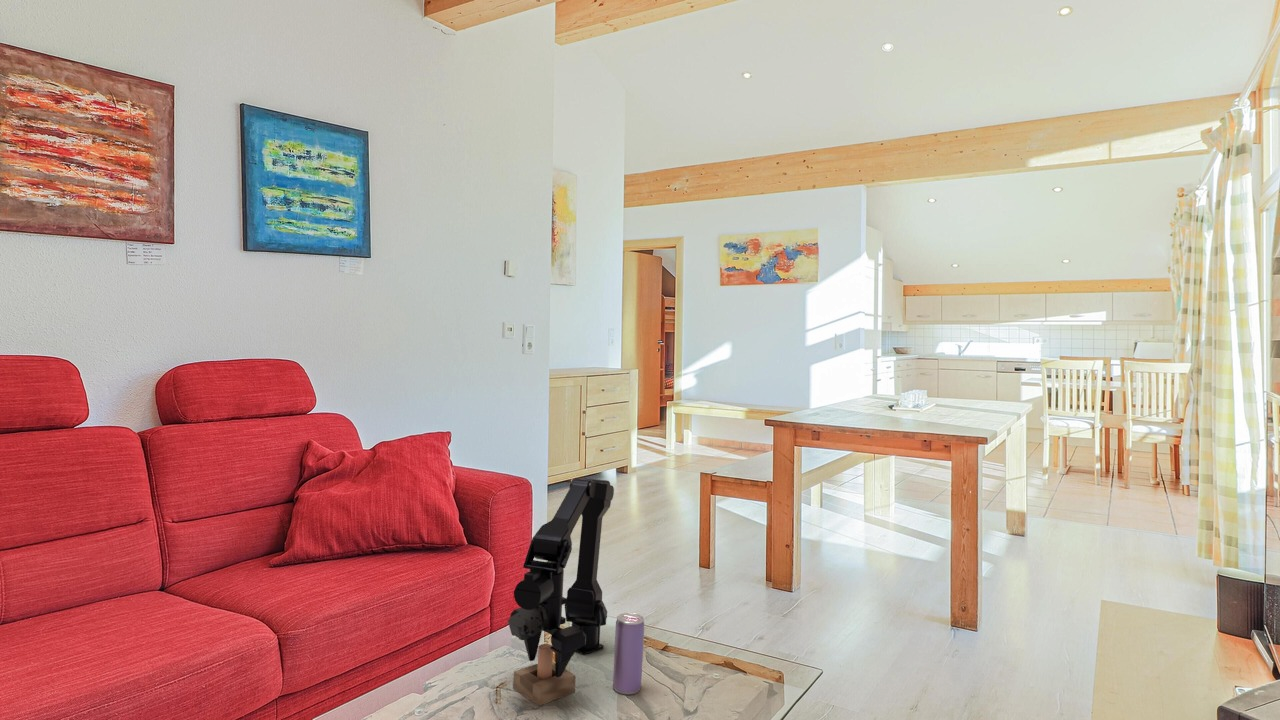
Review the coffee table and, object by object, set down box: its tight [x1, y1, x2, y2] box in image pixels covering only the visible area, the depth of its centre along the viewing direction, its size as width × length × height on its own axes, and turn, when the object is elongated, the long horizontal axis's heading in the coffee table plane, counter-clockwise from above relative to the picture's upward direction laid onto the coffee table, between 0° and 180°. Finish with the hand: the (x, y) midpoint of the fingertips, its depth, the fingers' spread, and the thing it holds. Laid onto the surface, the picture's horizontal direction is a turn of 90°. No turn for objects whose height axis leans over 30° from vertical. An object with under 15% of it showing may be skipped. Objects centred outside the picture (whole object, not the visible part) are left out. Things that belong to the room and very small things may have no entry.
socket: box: [512, 661, 576, 706], centre depth 149 cm, size 9×9×4 cm
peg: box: [537, 643, 554, 681], centre depth 149 cm, size 3×3×9 cm
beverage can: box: [612, 612, 645, 696], centre depth 151 cm, size 6×6×15 cm
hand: (545, 668), depth 149 cm, fingers open, 9 cm apart
